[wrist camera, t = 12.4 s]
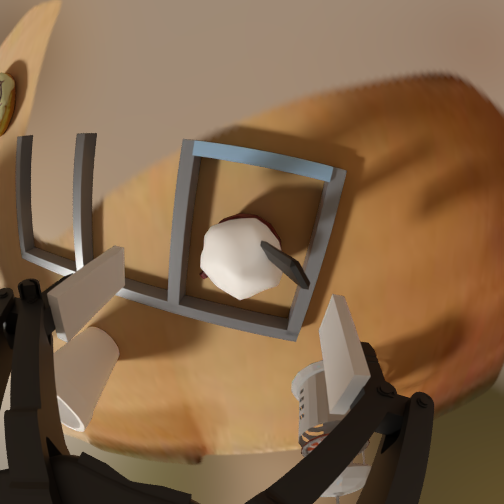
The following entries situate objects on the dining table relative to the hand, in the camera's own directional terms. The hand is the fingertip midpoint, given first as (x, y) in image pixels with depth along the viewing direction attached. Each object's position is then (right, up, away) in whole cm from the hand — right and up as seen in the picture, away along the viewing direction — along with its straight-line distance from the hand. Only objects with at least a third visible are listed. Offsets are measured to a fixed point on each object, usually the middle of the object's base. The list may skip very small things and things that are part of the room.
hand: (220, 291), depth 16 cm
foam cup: (-20, -11, +17) cm, 28 cm away
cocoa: (+2, +3, +9) cm, 10 cm away
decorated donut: (-35, +24, +6) cm, 43 cm away
